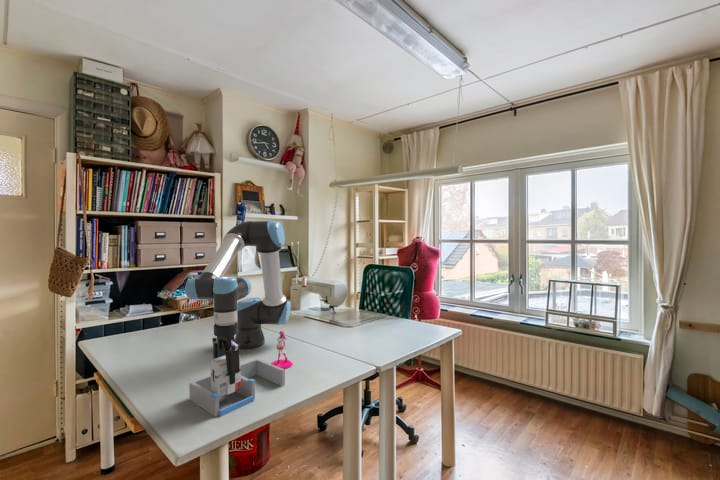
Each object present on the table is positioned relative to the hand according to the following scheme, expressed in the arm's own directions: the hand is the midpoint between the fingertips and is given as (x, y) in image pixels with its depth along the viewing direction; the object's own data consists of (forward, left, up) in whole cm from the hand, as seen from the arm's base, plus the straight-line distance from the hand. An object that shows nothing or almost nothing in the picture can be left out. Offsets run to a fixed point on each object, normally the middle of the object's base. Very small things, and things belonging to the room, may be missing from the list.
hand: (226, 389), depth 116 cm
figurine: (-10, +32, -4) cm, 33 cm away
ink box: (0, 0, -1) cm, 1 cm away
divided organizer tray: (-2, +7, -4) cm, 8 cm away
